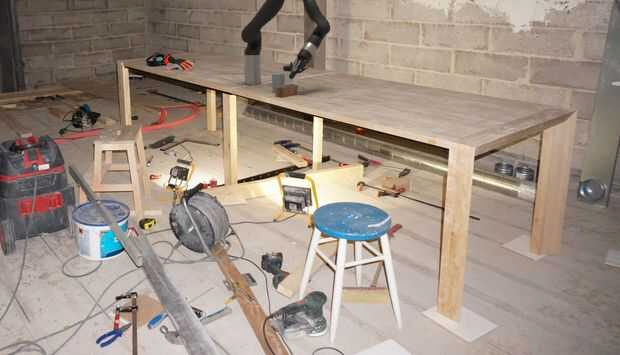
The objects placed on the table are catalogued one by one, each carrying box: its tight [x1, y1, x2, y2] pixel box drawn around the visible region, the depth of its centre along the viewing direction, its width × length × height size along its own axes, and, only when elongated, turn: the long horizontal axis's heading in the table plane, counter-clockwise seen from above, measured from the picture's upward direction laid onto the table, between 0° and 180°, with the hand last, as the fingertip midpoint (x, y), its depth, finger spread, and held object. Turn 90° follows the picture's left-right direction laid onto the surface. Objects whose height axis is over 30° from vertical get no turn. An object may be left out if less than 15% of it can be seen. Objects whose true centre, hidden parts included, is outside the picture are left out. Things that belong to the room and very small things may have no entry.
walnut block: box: [274, 84, 299, 98], centre depth 296 cm, size 5×5×12 cm
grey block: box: [271, 72, 285, 93], centre depth 305 cm, size 5×5×10 cm
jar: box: [282, 64, 299, 86], centre depth 319 cm, size 9×8×12 cm
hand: (290, 78), depth 296 cm, fingers closed
